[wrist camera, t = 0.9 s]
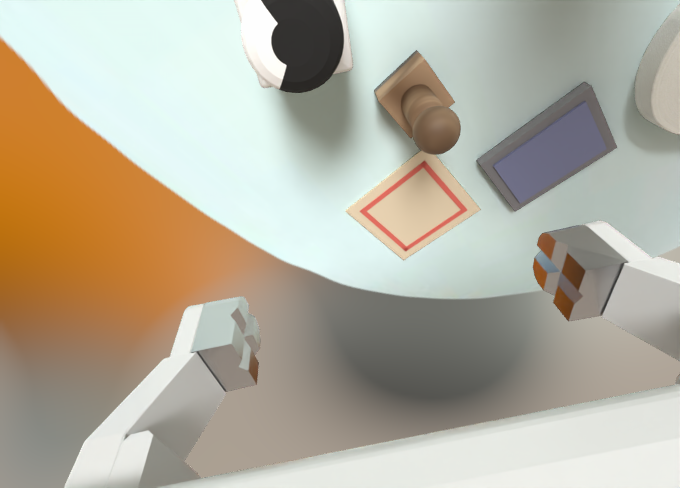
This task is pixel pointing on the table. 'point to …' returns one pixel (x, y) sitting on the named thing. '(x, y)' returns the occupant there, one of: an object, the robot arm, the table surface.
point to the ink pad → (549, 148)
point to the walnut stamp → (420, 105)
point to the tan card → (414, 205)
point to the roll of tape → (661, 77)
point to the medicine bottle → (295, 41)
